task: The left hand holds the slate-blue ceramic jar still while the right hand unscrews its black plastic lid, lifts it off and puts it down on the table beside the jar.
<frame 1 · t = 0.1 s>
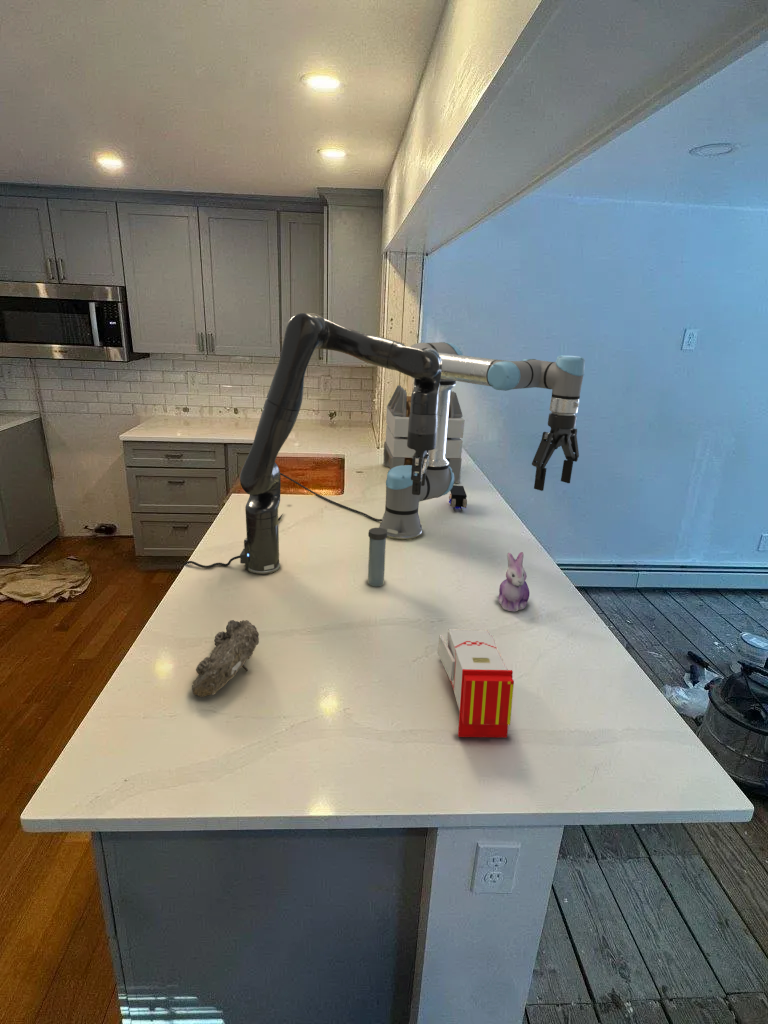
left hand: (418, 489, 152), 29 cm above the counter, tool pointing down, fingers open, 8 cm apart
right hand: (552, 485, 166), 28 cm above the counter, tool pointing down, fingers open, 13 cm apart
white wooden crate: (419, 473, 275), on the counter
lid: (377, 532, 158), point 16 cm above the counter, screwed on, not yet turned
figurine: (513, 604, 155), on the counter
fossil: (230, 669, 122), on the counter
feather: (281, 517, 210), on the counter
jar: (375, 582, 164), on the counter
figurine character: (456, 507, 229), on the counter
toy: (469, 691, 119), on the counter
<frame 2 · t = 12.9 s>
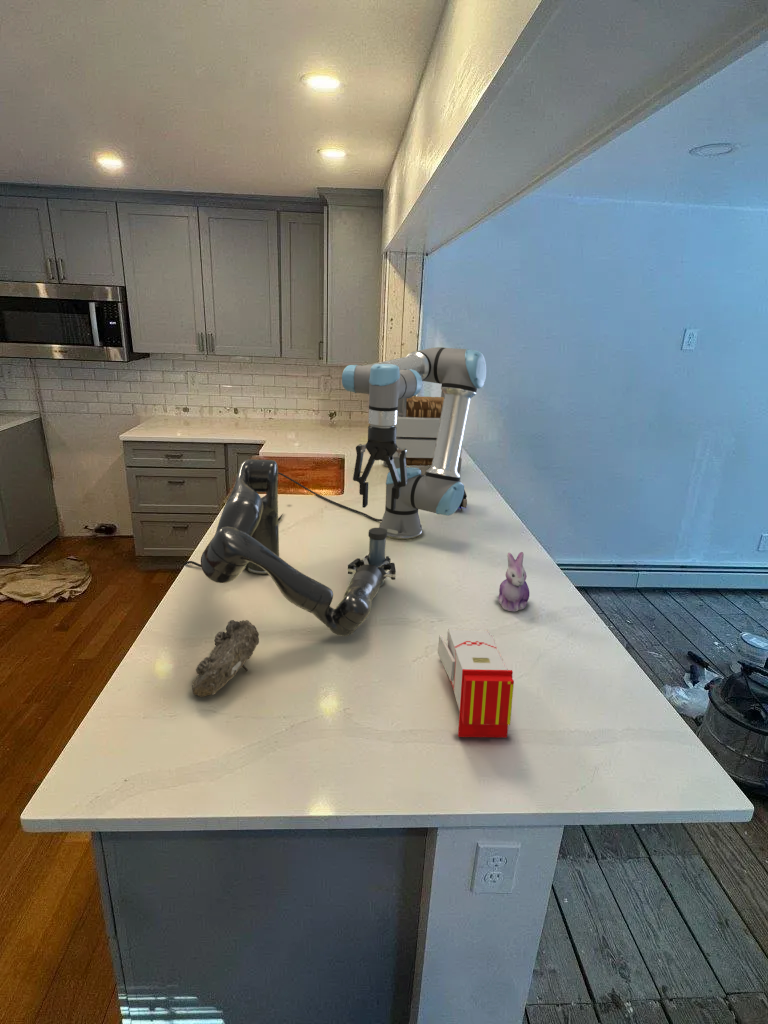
left hand: (378, 558, 164), 7 cm above the counter, tool horizontal, fingers closed on jar, 4 cm apart
right hand: (379, 507, 156), 23 cm above the counter, tool pointing down, fingers open, 7 cm apart
jar: (375, 582, 164), on the counter, touching left hand
everything else where it was.
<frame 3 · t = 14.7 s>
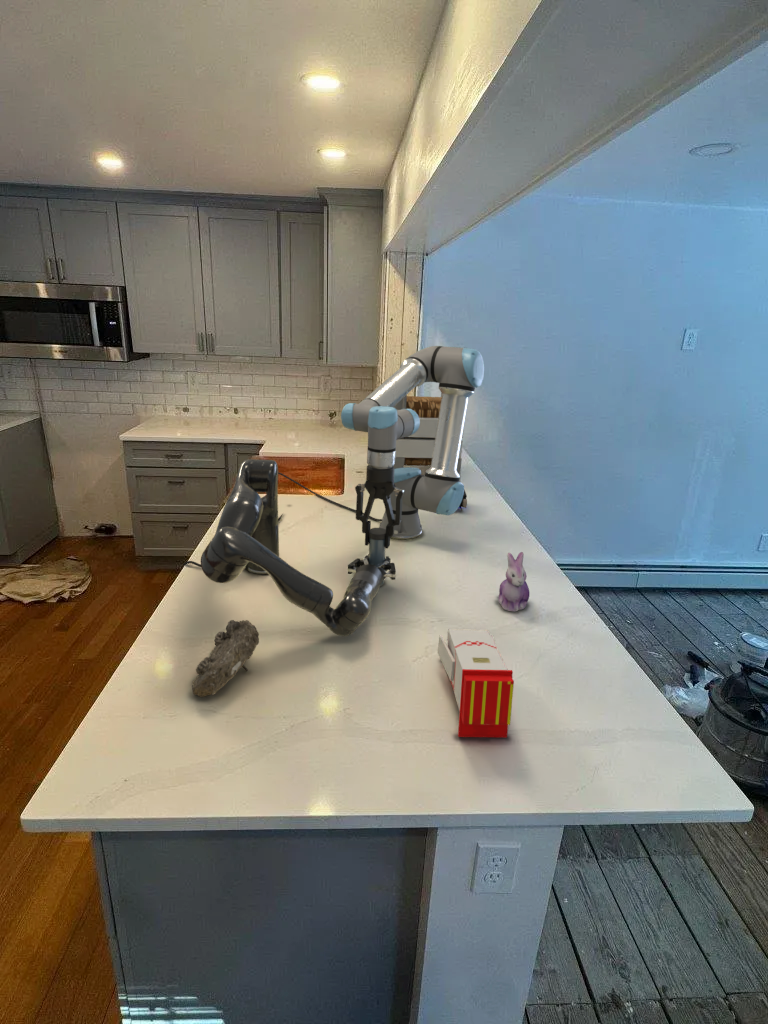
left hand: (378, 558, 164), 7 cm above the counter, tool horizontal, fingers closed on jar, 4 cm apart
right hand: (377, 545, 160), 12 cm above the counter, tool pointing down, fingers closed on lid, 5 cm apart
lid: (377, 532, 158), point 16 cm above the counter, screwed on, not yet turned, touching right hand
jar: (375, 582, 164), on the counter, touching left hand
everything else where it was.
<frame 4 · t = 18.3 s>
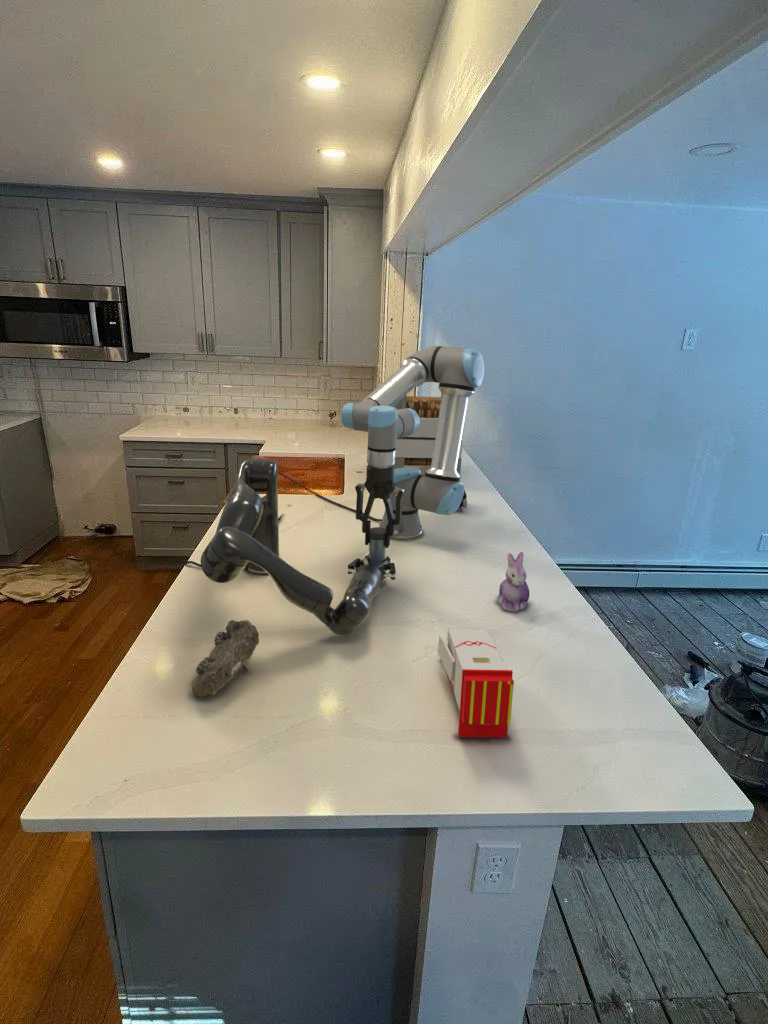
left hand: (378, 558, 164), 7 cm above the counter, tool horizontal, fingers closed on jar, 4 cm apart
right hand: (377, 544, 160), 12 cm above the counter, tool pointing down, fingers closed on lid, 5 cm apart
lid: (378, 531, 158), point 16 cm above the counter, turned 112° so far, risen 0.1 cm, still on its thread, touching right hand
jar: (375, 582, 164), on the counter, touching left hand
everything else where it was.
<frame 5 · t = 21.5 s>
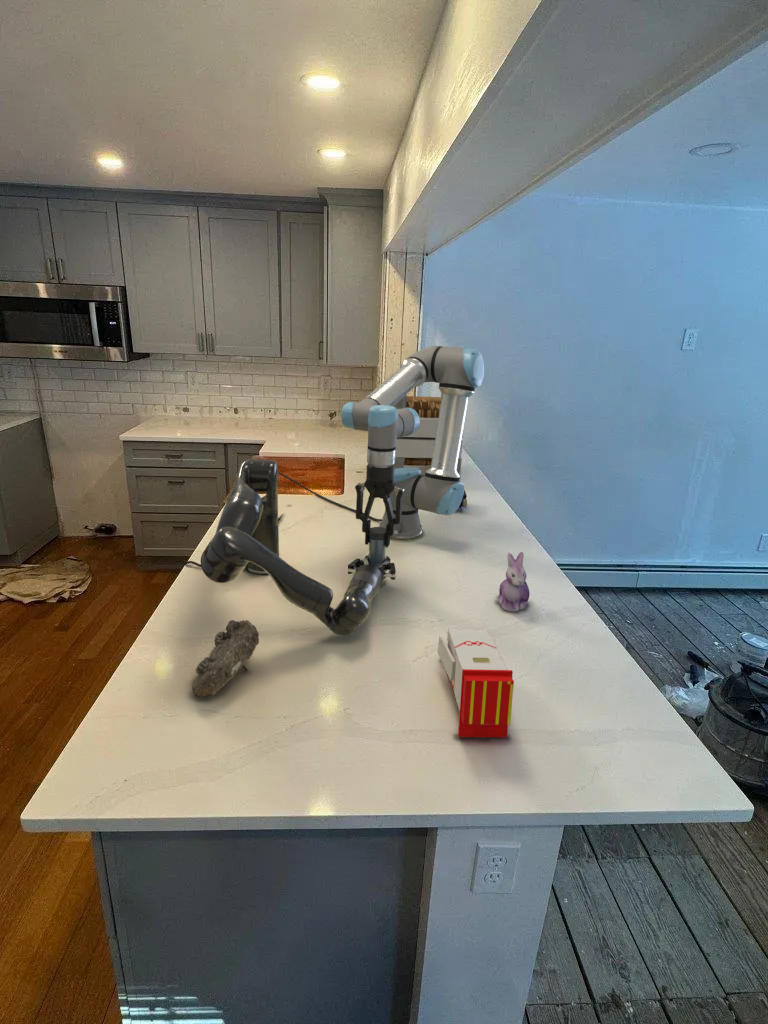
left hand: (378, 558, 164), 7 cm above the counter, tool horizontal, fingers closed on jar, 4 cm apart
right hand: (377, 544, 160), 12 cm above the counter, tool pointing down, fingers closed on lid, 5 cm apart
lid: (378, 531, 158), point 16 cm above the counter, turned 223° so far, risen 0.3 cm, still on its thread, touching right hand
jar: (375, 582, 164), on the counter, touching left hand
everything else where it was.
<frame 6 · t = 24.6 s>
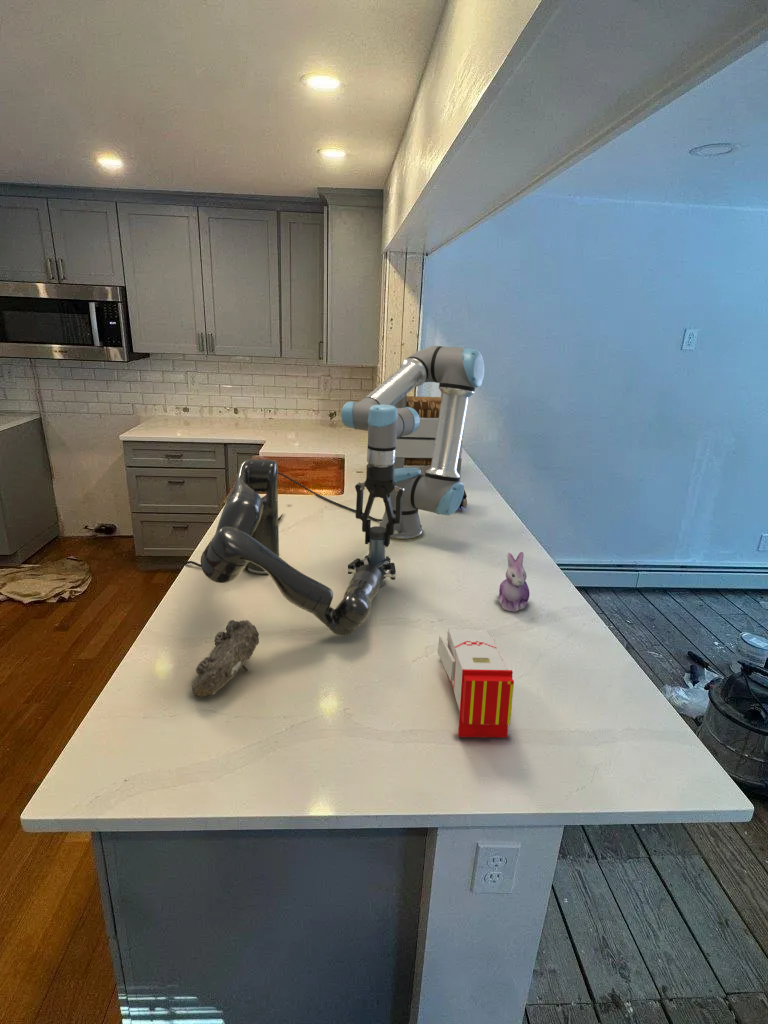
left hand: (378, 558, 164), 7 cm above the counter, tool horizontal, fingers closed on jar, 4 cm apart
right hand: (377, 543, 160), 12 cm above the counter, tool pointing down, fingers closed on lid, 5 cm apart
lid: (378, 530, 158), point 16 cm above the counter, turned 334° so far, risen 0.4 cm, still on its thread, touching right hand
jar: (375, 582, 164), on the counter, touching left hand
everything else where it was.
when the right hand's fingers open (0 cm above the counter, at t = 31.8 s): lid drops 2 cm, point 1 cm above the counter.
when the left hand's fingers open (7 cm above the counter, at t = 32.4 s): jar stays where it is, on the counter.
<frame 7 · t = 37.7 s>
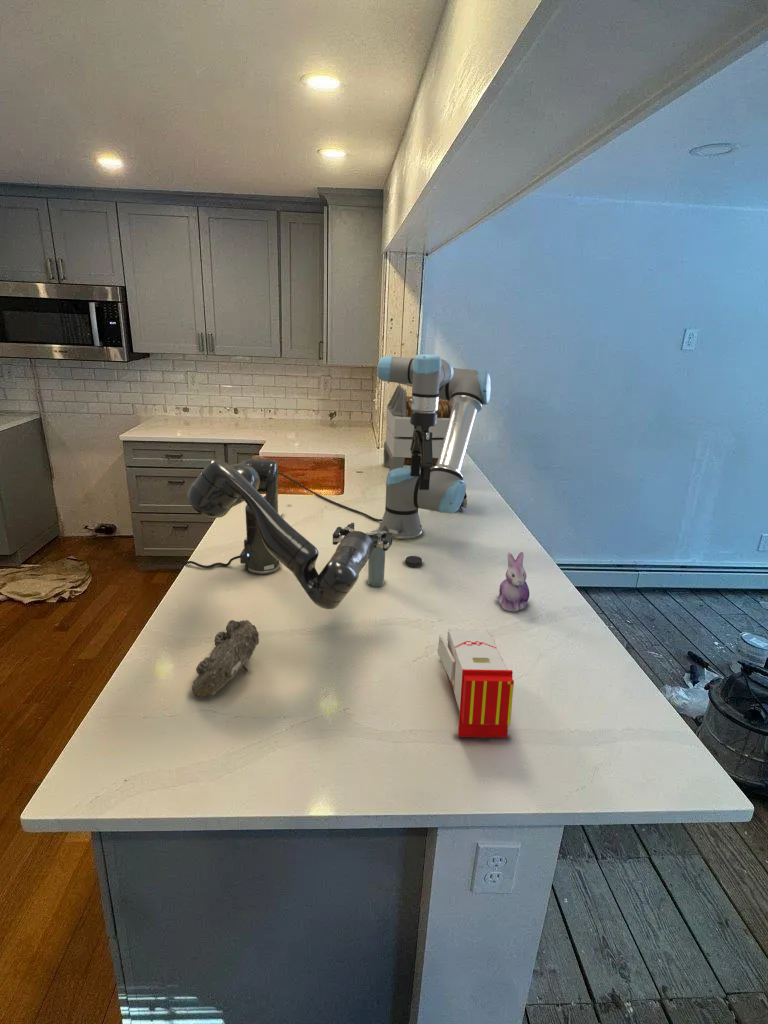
left hand: (369, 528, 145), 22 cm above the counter, tool horizontal, fingers open, 8 cm apart
right hand: (419, 482, 168), 26 cm above the counter, tool pointing down, fingers open, 13 cm apart
lid: (413, 560, 177), point 1 cm above the counter, off its thread
jar: (375, 582, 164), on the counter
everything else where it was.
at the end: lid came off its thread; lid point 1.2 cm above the counter; the left hand is holding nothing; the right hand is holding nothing; jar tilted 0°; jar moved 0.0 cm from its start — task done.
